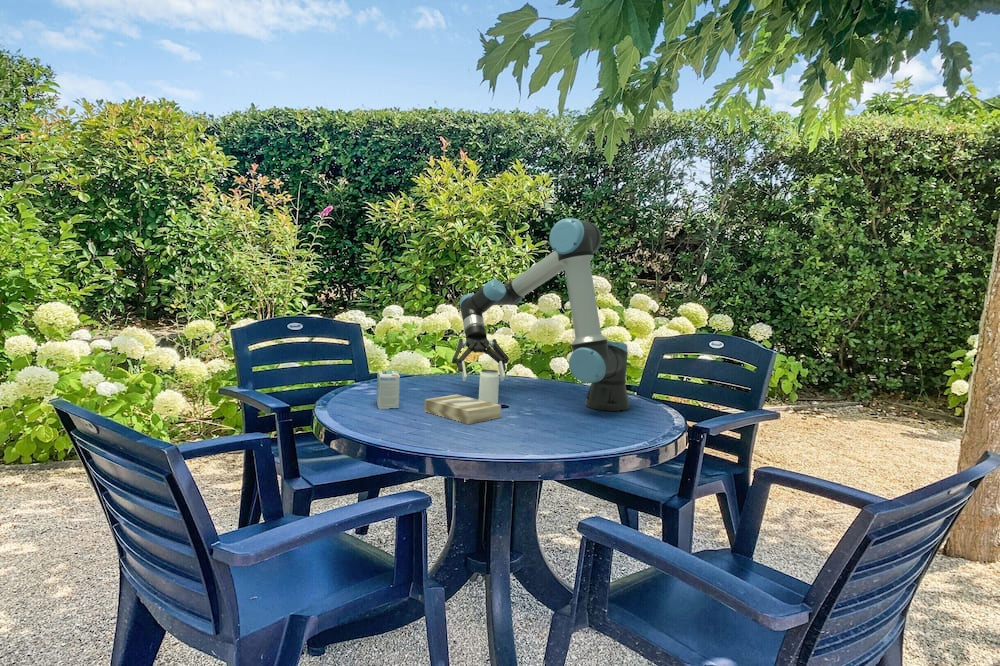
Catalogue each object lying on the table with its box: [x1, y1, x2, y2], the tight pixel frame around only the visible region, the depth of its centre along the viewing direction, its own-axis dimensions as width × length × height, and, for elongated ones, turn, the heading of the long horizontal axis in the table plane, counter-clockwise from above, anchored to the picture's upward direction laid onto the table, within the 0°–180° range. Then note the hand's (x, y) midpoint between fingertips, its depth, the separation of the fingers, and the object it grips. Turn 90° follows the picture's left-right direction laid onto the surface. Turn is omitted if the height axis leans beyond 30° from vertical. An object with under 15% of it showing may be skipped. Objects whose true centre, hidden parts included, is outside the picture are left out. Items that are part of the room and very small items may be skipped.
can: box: [478, 369, 500, 404], centre depth 205 cm, size 6×6×12 cm
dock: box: [423, 394, 502, 425], centre depth 191 cm, size 20×14×4 cm
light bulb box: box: [376, 370, 401, 410], centre depth 199 cm, size 11×7×11 cm, turn 15°
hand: (484, 378), depth 208 cm, fingers open, 13 cm apart
